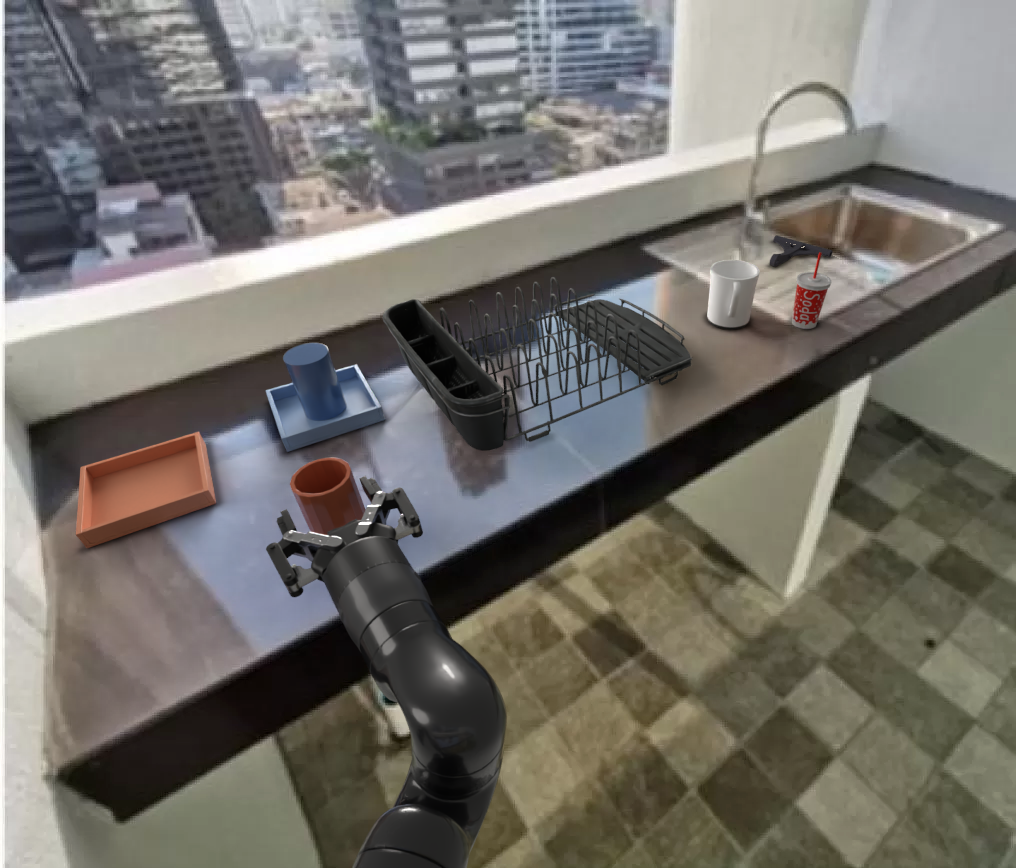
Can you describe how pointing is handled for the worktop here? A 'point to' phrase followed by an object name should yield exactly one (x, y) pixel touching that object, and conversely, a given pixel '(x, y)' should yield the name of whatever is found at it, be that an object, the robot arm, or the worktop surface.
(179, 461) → the terracotta tray
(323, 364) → the blue upright cylinder
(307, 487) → the terracotta cup
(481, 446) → the dish rack
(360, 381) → the blue tray
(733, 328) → the mug
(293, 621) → the worktop surface
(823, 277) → the beverage cup
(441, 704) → the robot arm
